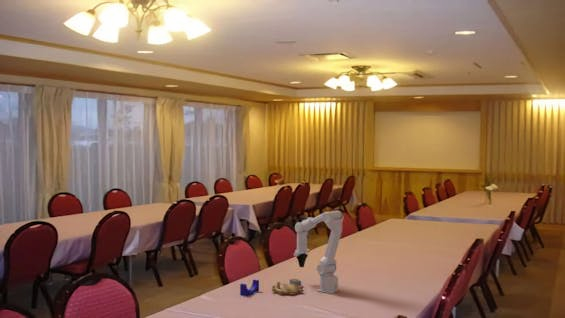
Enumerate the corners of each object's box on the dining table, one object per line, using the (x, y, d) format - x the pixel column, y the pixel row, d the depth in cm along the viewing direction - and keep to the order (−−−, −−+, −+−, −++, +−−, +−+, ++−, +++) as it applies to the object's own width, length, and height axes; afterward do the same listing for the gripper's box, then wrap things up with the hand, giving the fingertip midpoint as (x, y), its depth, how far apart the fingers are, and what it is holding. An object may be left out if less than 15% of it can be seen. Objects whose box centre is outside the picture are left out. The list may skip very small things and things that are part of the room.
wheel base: (303, 290, 303) (303, 289, 303) (291, 296, 292) (291, 295, 292) (283, 286, 310) (283, 286, 310) (270, 292, 299) (270, 291, 299)
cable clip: (246, 296, 291) (246, 285, 291) (240, 295, 294) (240, 284, 293) (261, 291, 301) (261, 280, 300) (254, 290, 303) (254, 279, 303)
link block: (301, 287, 310) (301, 280, 310) (294, 288, 308) (294, 281, 308) (295, 284, 315) (295, 278, 315) (289, 285, 313) (289, 279, 313)
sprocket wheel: (296, 285, 311) (296, 276, 311) (307, 292, 295) (307, 284, 295) (267, 287, 306) (267, 278, 306) (277, 295, 290) (277, 286, 290)
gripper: (302, 240, 324) (302, 263, 325) (289, 244, 312) (288, 268, 313) (312, 241, 321) (312, 265, 321) (299, 245, 308) (299, 270, 309)
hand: (301, 267), depth 317 cm, fingers closed
